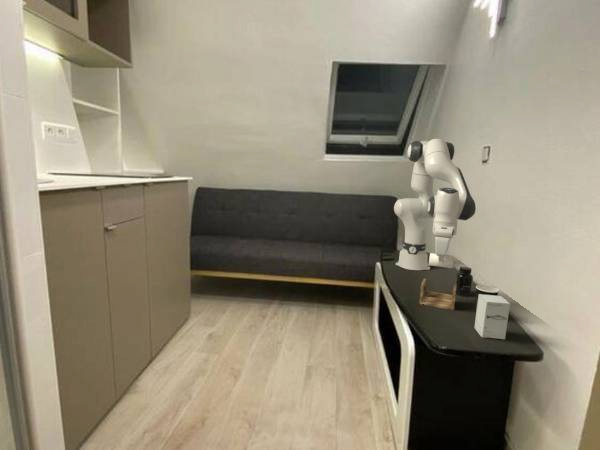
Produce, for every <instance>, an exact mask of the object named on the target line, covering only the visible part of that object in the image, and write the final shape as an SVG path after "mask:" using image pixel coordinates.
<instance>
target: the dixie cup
mask: <svg viewBox="0 0 600 450" xmlns="http://www.w3.org/2000/svg"><path fill="white" fill-rule="evenodd" d="M475 289H476V290H475V291H476V294H475V295H476V298H475V299H476V300H475V302H476V305H475V306H476V308H475V309H476V310H475V311H476V312H477V303H478V295H479V294H483V295H494V296H499V292H500V291H501V290H500V289H499V288H498V287H495V286H492V285H487V284H477V285H476V286H475Z"/></svg>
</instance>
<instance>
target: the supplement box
mask: <svg viewBox="0 0 600 450" xmlns="http://www.w3.org/2000/svg"><path fill="white" fill-rule="evenodd" d="M510 305H511V303H510V302H509V301H508V300H507V299H505V298H504V297H503V296H501V295H498V296H494V295H483V294H479V295H478V303H477V312H476V313H475V320H474V329H475V331H476V332H477V333H478V335H479V336H480V337H481V338H488V339H489V338H490V339H498V340H499V339H500V340H506V334H507V329H508V328H507V327H508V321H509V313H510V307H511V306H510Z"/></svg>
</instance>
